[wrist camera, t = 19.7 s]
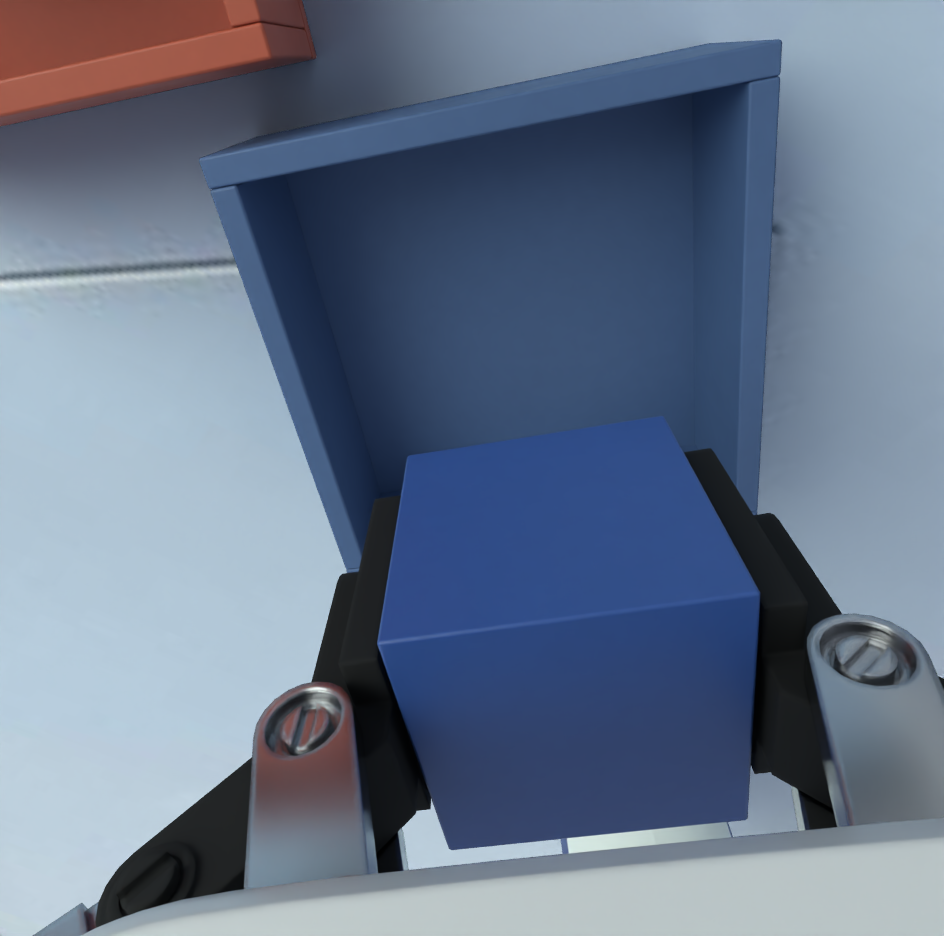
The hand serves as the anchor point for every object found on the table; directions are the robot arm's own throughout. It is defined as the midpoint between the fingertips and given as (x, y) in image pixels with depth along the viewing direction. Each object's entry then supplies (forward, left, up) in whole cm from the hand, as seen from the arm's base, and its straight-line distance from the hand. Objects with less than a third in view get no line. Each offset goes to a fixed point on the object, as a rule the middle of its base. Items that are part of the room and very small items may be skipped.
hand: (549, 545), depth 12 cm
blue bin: (0, 0, -13) cm, 13 cm away
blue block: (0, 0, 0) cm, 0 cm away
